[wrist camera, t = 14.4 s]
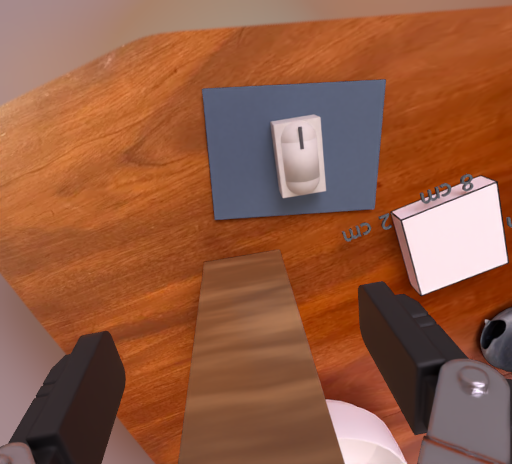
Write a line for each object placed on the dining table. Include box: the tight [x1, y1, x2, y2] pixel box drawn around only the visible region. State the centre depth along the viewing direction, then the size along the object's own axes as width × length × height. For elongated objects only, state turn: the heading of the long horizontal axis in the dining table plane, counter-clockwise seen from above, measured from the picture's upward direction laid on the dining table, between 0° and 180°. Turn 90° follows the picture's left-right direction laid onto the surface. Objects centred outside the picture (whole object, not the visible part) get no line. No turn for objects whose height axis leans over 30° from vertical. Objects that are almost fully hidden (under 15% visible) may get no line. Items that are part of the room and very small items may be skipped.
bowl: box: [326, 399, 407, 464], centre depth 45 cm, size 20×20×8 cm
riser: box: [178, 250, 345, 464], centre depth 27 cm, size 12×8×28 cm, turn 8°
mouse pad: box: [202, 80, 386, 220], centre depth 34 cm, size 16×12×1 cm
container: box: [342, 174, 512, 296], centre depth 37 cm, size 20×11×3 cm, turn 113°
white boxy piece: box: [270, 114, 326, 198], centre depth 32 cm, size 7×4×4 cm, turn 8°
